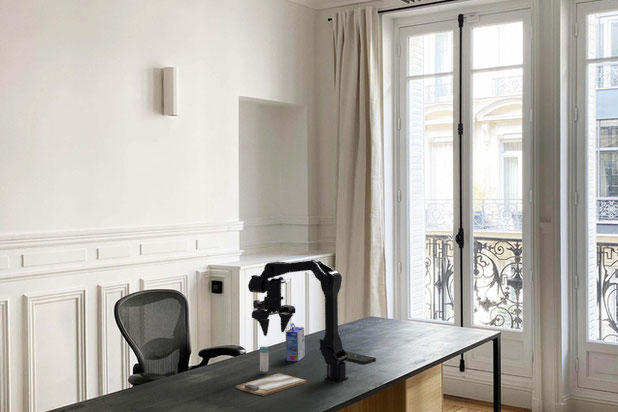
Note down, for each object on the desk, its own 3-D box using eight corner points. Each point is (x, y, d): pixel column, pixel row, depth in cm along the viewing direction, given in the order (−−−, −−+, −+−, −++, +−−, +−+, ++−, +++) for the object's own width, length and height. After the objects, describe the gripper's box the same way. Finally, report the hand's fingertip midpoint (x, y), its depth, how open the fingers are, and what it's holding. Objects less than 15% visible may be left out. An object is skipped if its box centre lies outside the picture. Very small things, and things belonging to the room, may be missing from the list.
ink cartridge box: (292, 355, 292) (292, 321, 292) (305, 356, 291) (305, 321, 291) (285, 360, 283) (285, 325, 282) (298, 361, 281) (298, 326, 281)
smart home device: (364, 361, 278) (327, 352, 291) (364, 365, 278) (327, 357, 291) (376, 357, 284) (340, 349, 297) (376, 361, 284) (340, 353, 297)
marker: (270, 373, 264) (270, 347, 263) (264, 375, 261) (264, 349, 261) (264, 371, 266) (264, 346, 266) (257, 373, 264) (257, 347, 263)
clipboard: (306, 382, 252) (306, 377, 252) (263, 396, 235) (263, 390, 235) (279, 375, 261) (279, 370, 261) (235, 388, 245) (235, 383, 245)
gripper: (276, 289, 282) (277, 327, 282) (242, 294, 268) (242, 334, 269) (296, 292, 274) (296, 331, 274) (261, 297, 261) (261, 339, 261)
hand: (274, 334), depth 270 cm, fingers open, 9 cm apart
